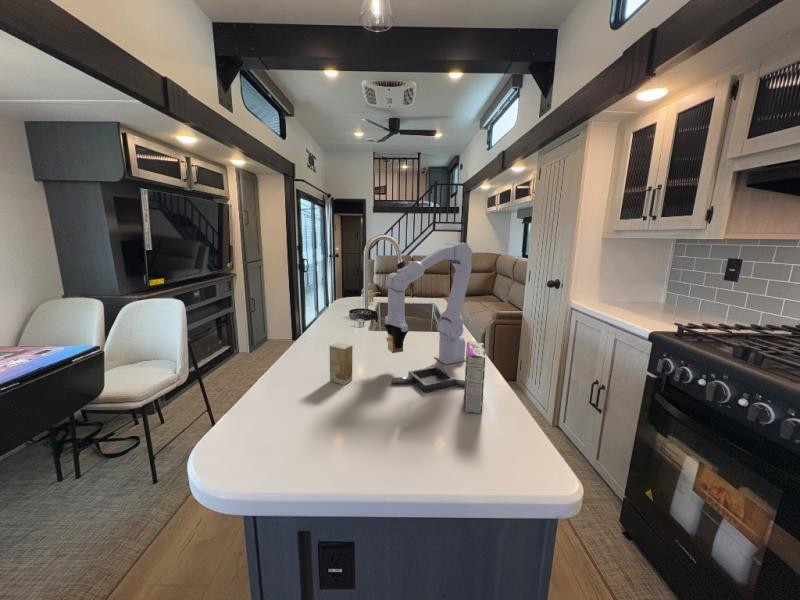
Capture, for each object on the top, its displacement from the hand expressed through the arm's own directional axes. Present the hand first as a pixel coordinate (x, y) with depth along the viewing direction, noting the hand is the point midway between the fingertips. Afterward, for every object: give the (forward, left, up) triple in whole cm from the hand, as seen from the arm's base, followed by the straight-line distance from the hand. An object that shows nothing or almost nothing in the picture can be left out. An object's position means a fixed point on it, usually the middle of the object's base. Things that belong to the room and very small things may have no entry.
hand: (395, 345), depth 112 cm
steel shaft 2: (-14, +21, -8) cm, 27 cm away
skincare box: (+20, +2, -9) cm, 22 cm away
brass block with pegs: (0, 0, -2) cm, 2 cm away
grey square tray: (-6, +15, -8) cm, 18 cm away
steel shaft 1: (+3, +11, -8) cm, 15 cm away
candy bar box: (-10, +31, -9) cm, 33 cm away
